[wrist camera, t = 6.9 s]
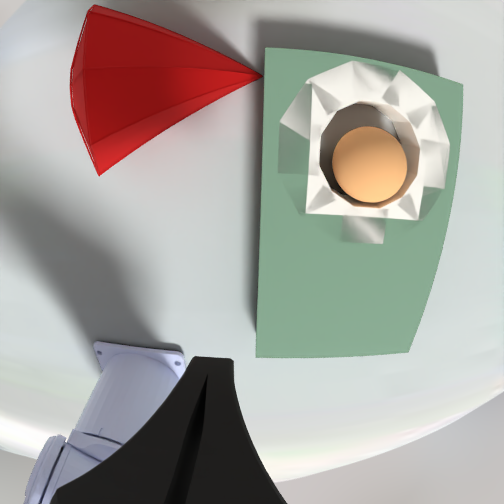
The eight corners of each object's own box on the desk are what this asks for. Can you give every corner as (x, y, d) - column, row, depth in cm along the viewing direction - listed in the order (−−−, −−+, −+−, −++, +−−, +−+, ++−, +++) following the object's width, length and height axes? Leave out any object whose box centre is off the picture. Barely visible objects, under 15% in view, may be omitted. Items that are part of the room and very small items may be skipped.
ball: (418, 127, 13) (385, 157, 17) (349, 101, 13) (325, 139, 17) (422, 197, 13) (383, 218, 16) (346, 173, 12) (319, 202, 16)
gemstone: (272, -25, 11) (76, -25, 7) (332, 93, 10) (48, 110, 7) (226, 67, 19) (86, 79, 16) (254, 173, 19) (89, 199, 15)
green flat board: (397, 331, 22) (408, 352, 19) (256, 333, 22) (255, 357, 19) (441, 86, 14) (463, 84, 12) (264, 57, 14) (265, 47, 12)
